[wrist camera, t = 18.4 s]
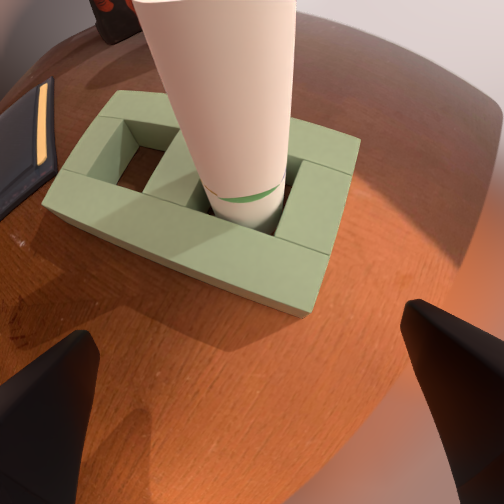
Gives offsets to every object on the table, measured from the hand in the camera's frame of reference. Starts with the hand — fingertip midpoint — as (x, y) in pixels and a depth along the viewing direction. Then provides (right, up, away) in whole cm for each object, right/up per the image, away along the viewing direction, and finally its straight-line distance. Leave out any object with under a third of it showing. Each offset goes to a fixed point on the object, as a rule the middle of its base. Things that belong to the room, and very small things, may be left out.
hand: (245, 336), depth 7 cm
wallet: (-28, +14, +16) cm, 35 cm away
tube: (0, +5, +12) cm, 13 cm away
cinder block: (-4, +6, +12) cm, 14 cm away
